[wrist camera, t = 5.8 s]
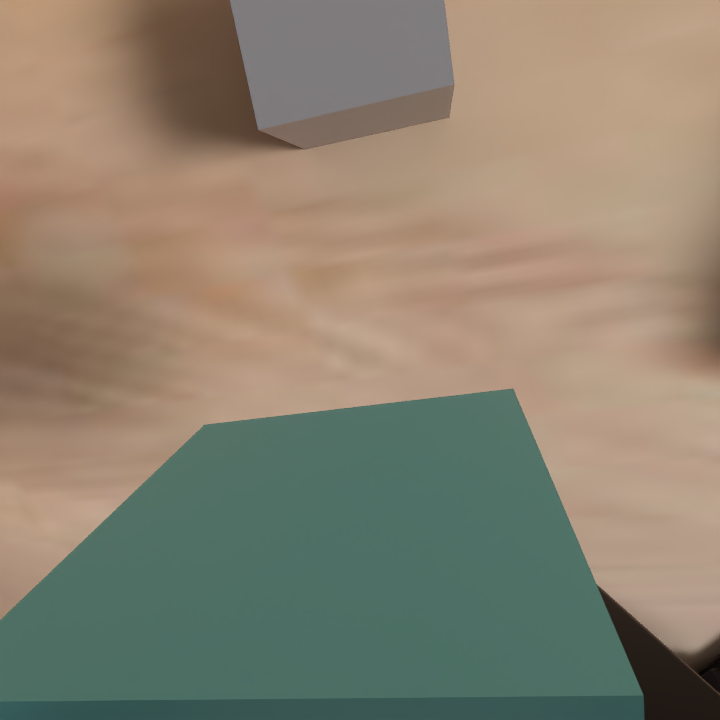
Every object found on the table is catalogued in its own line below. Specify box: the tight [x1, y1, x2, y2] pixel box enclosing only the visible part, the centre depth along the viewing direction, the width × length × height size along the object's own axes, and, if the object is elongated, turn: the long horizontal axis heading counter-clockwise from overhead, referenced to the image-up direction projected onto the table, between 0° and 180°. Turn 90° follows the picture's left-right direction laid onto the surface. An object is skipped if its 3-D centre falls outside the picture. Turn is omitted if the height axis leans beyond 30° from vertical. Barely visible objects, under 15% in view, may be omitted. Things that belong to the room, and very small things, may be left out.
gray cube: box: [230, 0, 454, 149], centre depth 14 cm, size 5×5×5 cm
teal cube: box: [0, 389, 645, 720], centre depth 6 cm, size 5×5×5 cm
